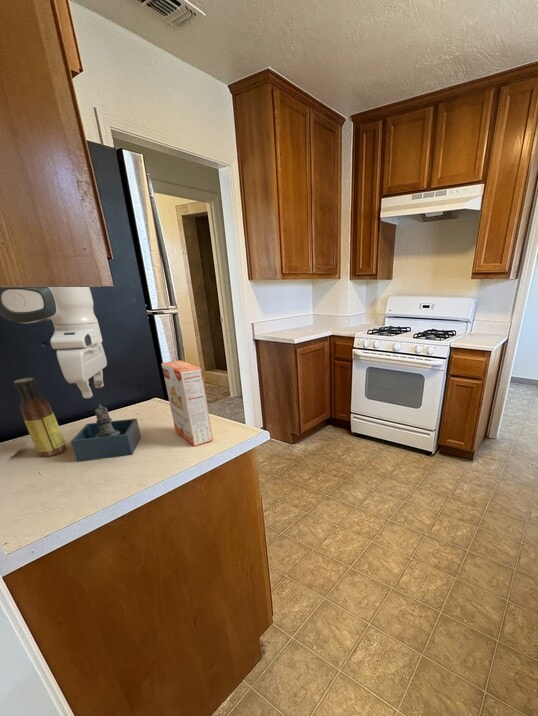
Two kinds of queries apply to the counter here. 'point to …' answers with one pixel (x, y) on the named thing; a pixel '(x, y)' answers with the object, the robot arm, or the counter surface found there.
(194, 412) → the cracker box
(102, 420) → the grey chess piece
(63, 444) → the sauce bottle
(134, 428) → the bin
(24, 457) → the counter surface
